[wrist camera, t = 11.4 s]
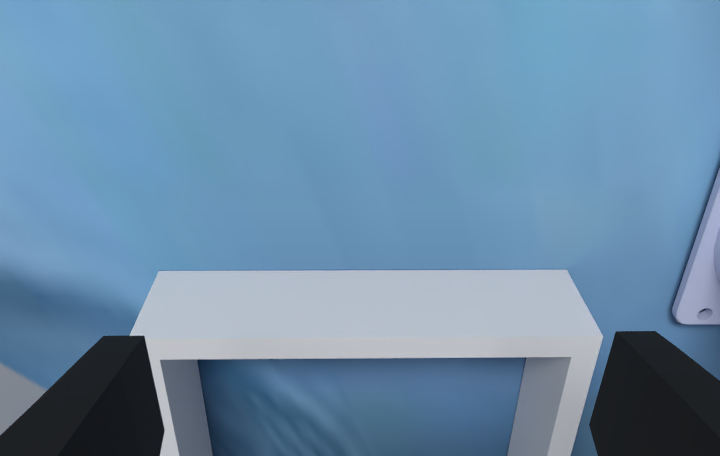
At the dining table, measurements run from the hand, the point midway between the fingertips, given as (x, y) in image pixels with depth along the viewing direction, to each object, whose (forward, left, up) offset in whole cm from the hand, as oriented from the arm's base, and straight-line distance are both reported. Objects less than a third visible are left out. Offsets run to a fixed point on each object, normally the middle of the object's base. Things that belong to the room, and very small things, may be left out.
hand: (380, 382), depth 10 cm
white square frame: (0, +12, -10) cm, 16 cm away
